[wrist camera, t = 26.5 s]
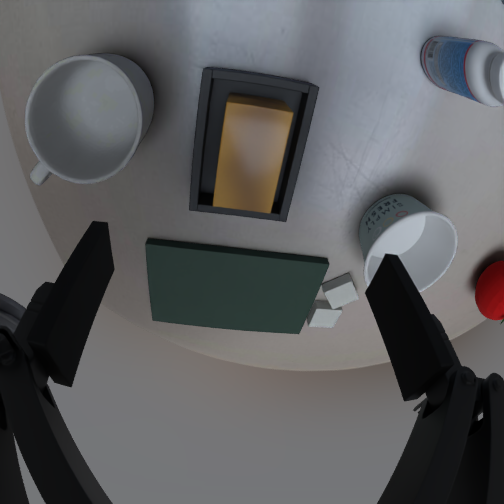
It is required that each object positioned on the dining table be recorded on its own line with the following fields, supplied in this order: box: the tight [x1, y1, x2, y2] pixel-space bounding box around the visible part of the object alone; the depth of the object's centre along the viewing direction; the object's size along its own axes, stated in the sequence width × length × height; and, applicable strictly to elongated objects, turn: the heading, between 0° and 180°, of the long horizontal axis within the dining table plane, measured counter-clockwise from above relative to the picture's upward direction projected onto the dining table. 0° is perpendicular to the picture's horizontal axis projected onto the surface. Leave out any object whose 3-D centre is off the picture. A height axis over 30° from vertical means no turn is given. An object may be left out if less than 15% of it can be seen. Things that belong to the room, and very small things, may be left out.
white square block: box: [322, 273, 359, 309], centre depth 40 cm, size 4×4×2 cm
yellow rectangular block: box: [213, 92, 294, 213], centre depth 25 cm, size 5×9×6 cm, turn 170°
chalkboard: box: [145, 238, 329, 334], centre depth 39 cm, size 22×14×1 cm, turn 81°
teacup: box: [25, 53, 154, 185], centre depth 22 cm, size 14×11×8 cm
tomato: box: [475, 261, 504, 323], centre depth 36 cm, size 10×10×10 cm
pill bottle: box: [421, 36, 504, 107], centre depth 17 cm, size 6×6×11 cm
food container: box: [359, 194, 458, 292], centre depth 32 cm, size 12×12×6 cm
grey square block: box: [307, 301, 342, 328], centre depth 43 cm, size 4×4×2 cm
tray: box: [189, 67, 319, 222], centre depth 27 cm, size 10×14×3 cm
